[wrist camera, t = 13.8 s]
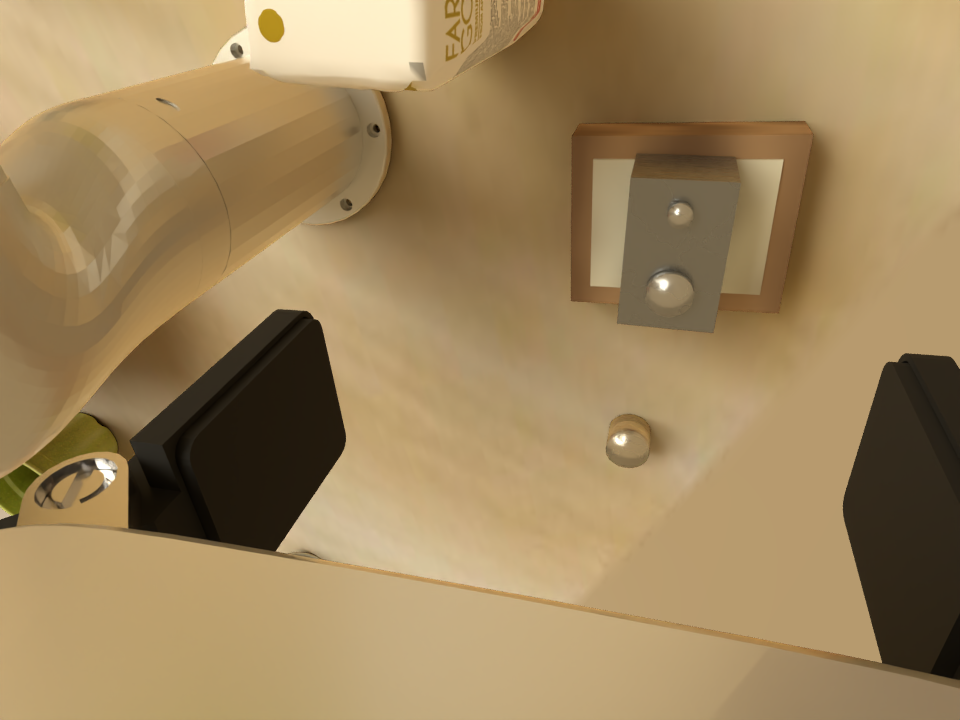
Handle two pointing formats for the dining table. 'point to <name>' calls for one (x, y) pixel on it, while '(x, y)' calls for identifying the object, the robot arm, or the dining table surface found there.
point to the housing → (677, 240)
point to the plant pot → (55, 457)
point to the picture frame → (758, 219)
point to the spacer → (628, 441)
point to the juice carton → (381, 39)
